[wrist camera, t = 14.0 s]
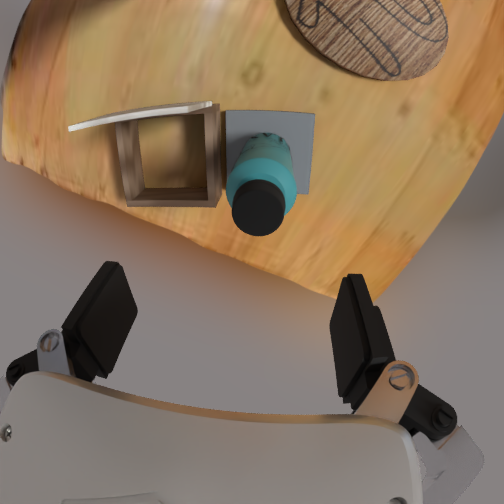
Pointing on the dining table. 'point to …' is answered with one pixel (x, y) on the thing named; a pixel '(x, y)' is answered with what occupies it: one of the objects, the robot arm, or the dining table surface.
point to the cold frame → (133, 165)
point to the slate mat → (282, 124)
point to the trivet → (375, 34)
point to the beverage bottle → (262, 185)
